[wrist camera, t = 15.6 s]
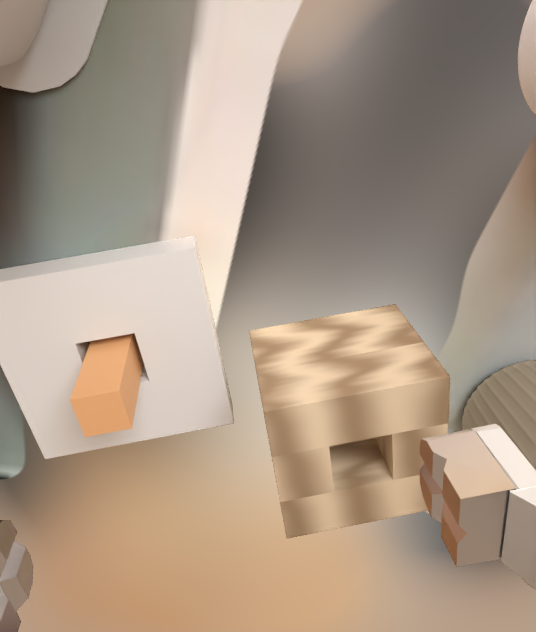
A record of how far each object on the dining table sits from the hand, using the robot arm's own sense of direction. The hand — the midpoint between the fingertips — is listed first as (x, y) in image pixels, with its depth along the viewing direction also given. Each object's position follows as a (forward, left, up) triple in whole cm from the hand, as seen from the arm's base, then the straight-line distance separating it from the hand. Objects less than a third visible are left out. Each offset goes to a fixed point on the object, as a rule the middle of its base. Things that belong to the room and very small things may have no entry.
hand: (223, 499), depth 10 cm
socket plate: (+11, +15, -34) cm, 39 cm away
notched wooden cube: (-8, +23, -34) cm, 42 cm away
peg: (+11, +15, -34) cm, 39 cm away
